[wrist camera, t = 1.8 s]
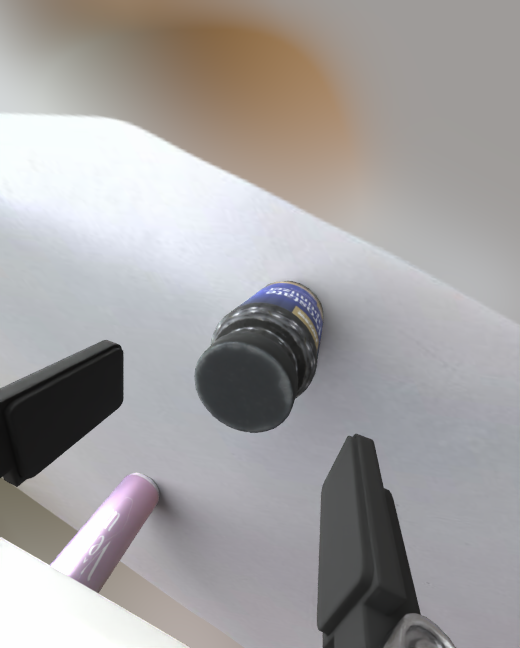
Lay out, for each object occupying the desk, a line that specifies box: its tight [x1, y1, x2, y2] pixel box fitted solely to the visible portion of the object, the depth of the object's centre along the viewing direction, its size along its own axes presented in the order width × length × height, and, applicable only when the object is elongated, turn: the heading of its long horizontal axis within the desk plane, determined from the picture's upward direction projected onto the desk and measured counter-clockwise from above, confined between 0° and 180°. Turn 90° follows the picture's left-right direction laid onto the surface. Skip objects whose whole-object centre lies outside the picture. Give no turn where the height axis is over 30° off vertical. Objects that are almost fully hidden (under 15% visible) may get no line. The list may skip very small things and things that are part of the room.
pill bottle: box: [195, 281, 323, 433], centre depth 16 cm, size 6×6×11 cm
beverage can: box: [50, 473, 159, 593], centre depth 29 cm, size 6×6×15 cm
